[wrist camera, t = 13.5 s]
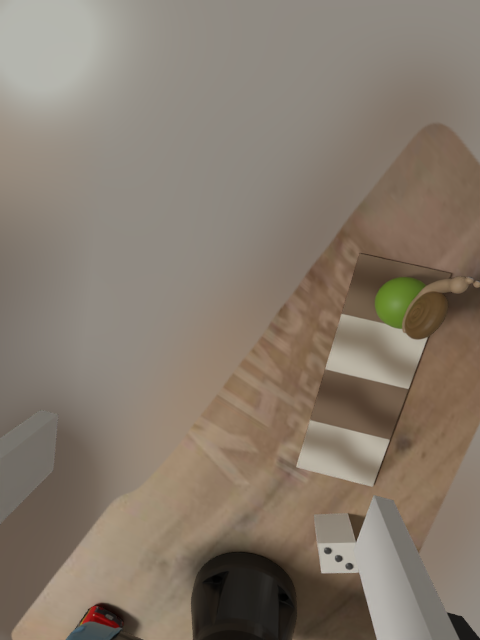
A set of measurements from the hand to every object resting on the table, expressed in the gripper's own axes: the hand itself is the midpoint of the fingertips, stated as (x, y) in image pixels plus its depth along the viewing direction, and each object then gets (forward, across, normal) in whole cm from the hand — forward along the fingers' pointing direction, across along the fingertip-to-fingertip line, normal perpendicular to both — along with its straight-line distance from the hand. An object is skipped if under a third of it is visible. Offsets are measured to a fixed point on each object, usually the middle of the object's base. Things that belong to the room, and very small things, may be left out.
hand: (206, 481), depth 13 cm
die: (+27, -17, +25) cm, 40 cm away
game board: (+27, -15, +3) cm, 31 cm away
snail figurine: (+27, -15, -7) cm, 31 cm away
